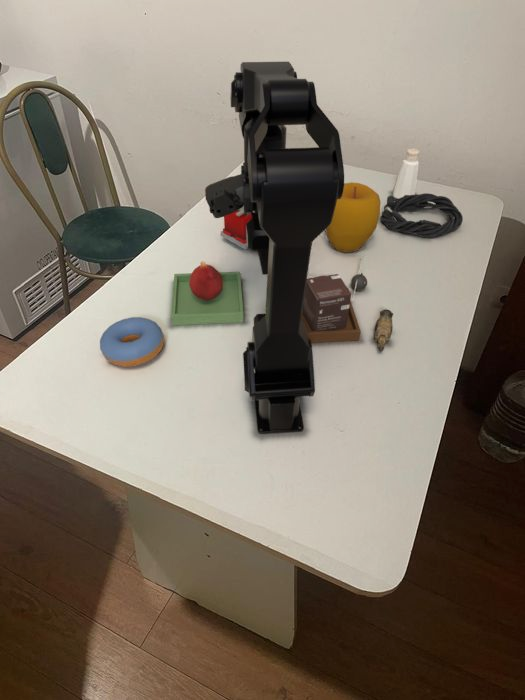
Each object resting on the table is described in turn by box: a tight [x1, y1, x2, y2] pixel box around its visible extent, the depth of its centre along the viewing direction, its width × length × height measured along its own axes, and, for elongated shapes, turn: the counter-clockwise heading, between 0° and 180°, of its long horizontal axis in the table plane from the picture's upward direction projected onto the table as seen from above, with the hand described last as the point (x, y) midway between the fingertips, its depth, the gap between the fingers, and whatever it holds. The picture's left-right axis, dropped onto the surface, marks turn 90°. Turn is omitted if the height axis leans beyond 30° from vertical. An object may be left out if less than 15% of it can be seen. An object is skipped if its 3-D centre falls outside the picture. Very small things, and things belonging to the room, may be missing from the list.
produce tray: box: [170, 271, 245, 326], centre depth 92 cm, size 12×12×2 cm
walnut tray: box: [302, 299, 361, 344], centre depth 88 cm, size 10×10×2 cm
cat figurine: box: [374, 308, 394, 352], centre depth 85 cm, size 3×8×4 cm, turn 166°
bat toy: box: [350, 253, 368, 302], centre depth 95 cm, size 3×15×5 cm, turn 165°
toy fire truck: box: [220, 206, 252, 251], centre depth 107 cm, size 9×19×10 cm, turn 136°
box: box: [302, 273, 352, 331], centre depth 86 cm, size 6×6×7 cm
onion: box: [189, 261, 223, 301], centre depth 90 cm, size 6×6×8 cm
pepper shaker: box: [392, 147, 420, 198], centre depth 120 cm, size 5×5×11 cm
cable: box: [379, 192, 464, 238], centre depth 113 cm, size 17×14×4 cm
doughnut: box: [99, 316, 165, 368], centre depth 82 cm, size 10×10×5 cm
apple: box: [325, 181, 382, 253], centre depth 103 cm, size 11×11×13 cm
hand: (263, 257), depth 82 cm, fingers open, 9 cm apart
